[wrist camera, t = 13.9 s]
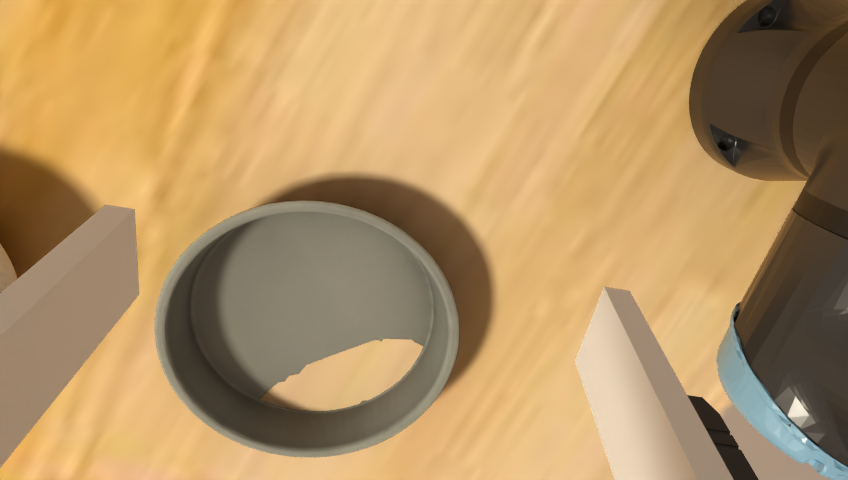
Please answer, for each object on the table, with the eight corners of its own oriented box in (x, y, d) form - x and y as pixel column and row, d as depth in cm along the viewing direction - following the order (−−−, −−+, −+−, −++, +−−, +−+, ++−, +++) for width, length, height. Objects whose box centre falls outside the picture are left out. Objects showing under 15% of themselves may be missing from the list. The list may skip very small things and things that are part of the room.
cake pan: (123, 360, 52) (103, 392, 48) (252, 125, 45) (241, 139, 41) (363, 460, 59) (363, 496, 55) (505, 271, 52) (518, 296, 48)
